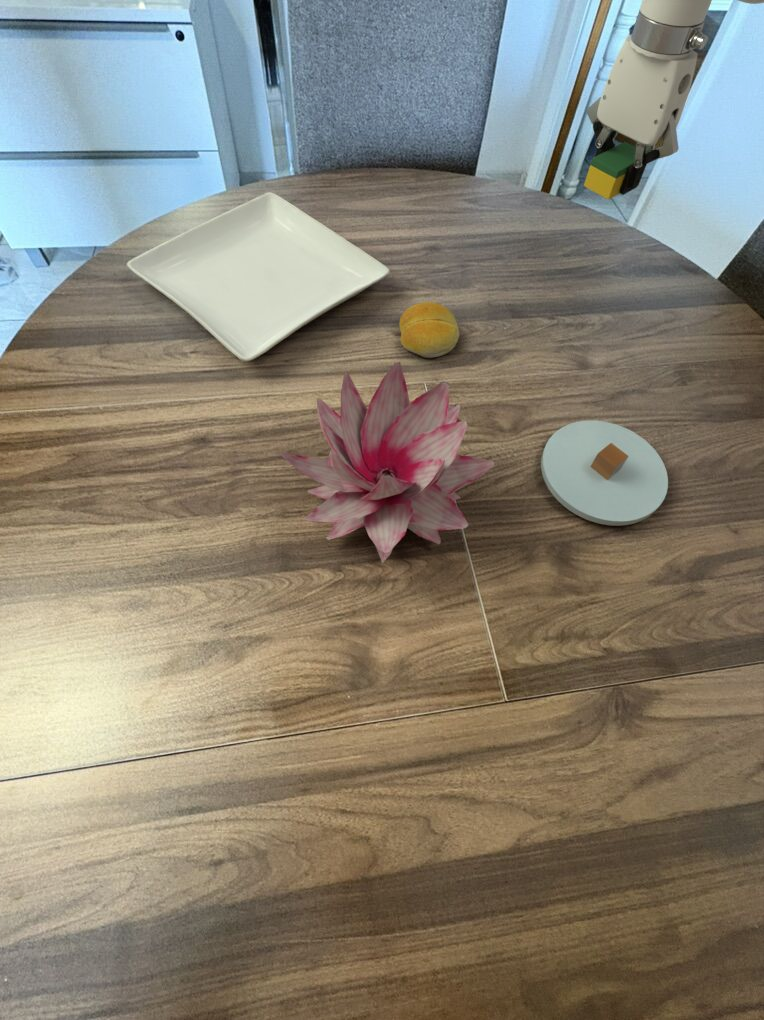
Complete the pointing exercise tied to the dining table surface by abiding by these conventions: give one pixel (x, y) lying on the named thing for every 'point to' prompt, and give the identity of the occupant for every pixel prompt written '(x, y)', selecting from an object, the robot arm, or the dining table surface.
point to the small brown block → (609, 461)
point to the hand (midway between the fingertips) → (612, 181)
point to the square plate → (257, 273)
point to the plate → (588, 491)
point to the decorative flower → (391, 463)
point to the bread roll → (428, 329)
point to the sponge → (610, 170)
